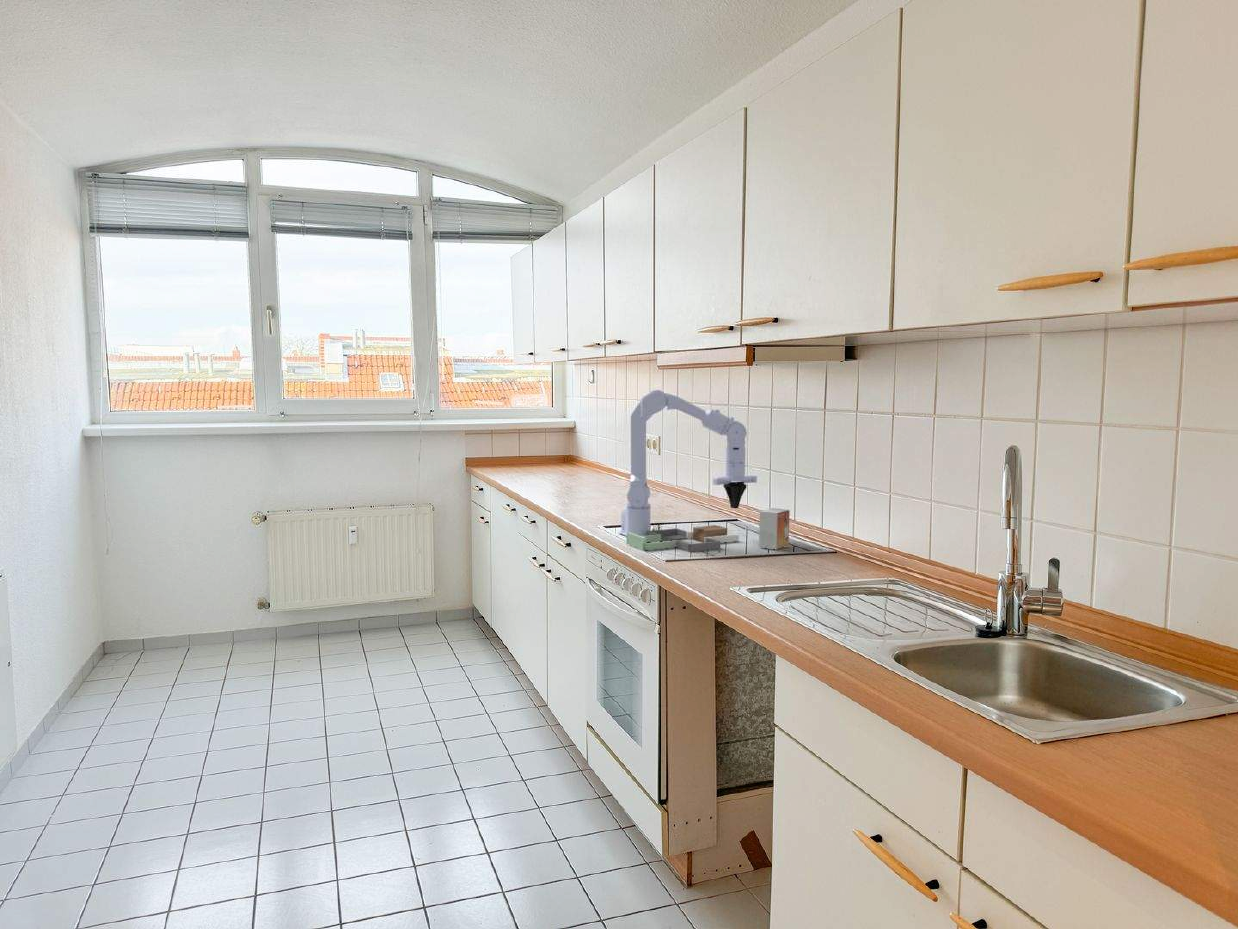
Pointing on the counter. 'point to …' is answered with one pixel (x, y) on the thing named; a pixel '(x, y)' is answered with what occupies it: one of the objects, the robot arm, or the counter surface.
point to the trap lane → (676, 540)
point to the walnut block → (708, 532)
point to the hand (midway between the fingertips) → (734, 507)
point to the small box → (774, 528)
